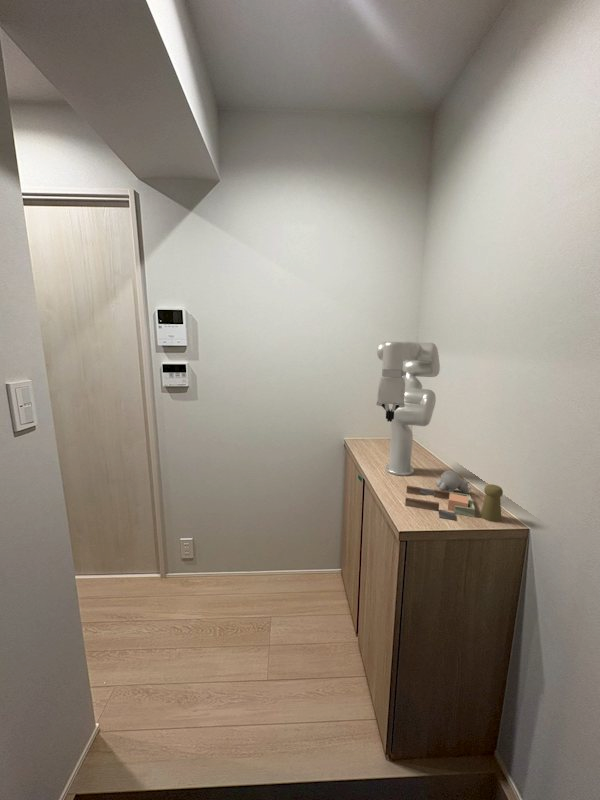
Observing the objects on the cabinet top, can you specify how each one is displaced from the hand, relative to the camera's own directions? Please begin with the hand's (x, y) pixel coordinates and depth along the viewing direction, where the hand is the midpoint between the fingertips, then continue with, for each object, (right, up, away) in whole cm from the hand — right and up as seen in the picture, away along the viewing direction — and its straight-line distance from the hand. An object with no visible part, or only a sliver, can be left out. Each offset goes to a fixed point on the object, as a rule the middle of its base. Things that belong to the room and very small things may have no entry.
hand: (389, 420), depth 127 cm
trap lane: (+15, -29, -10) cm, 34 cm away
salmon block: (+20, -30, -14) cm, 39 cm away
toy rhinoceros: (+25, -28, -1) cm, 37 cm away
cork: (+28, -31, -20) cm, 46 cm away
